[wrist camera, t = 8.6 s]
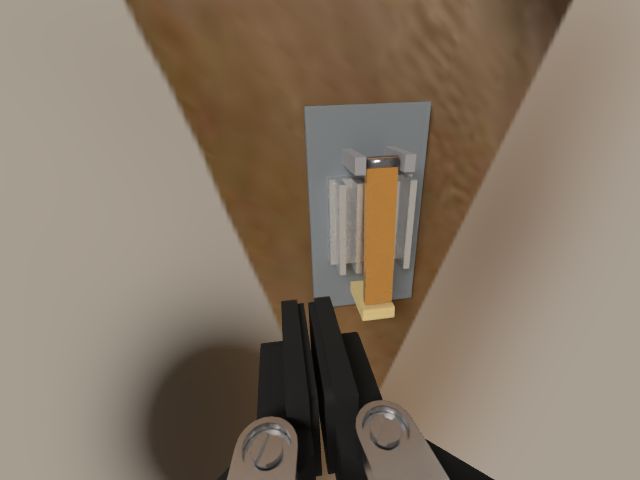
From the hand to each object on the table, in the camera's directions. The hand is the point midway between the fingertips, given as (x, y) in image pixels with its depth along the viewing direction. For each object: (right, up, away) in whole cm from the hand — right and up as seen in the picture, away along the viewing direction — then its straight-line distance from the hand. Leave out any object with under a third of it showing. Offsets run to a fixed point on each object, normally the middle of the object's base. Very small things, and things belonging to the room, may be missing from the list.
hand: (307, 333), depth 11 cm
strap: (+6, +4, +21) cm, 22 cm away
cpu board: (+6, +6, +26) cm, 27 cm away
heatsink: (+6, +6, +26) cm, 27 cm away
